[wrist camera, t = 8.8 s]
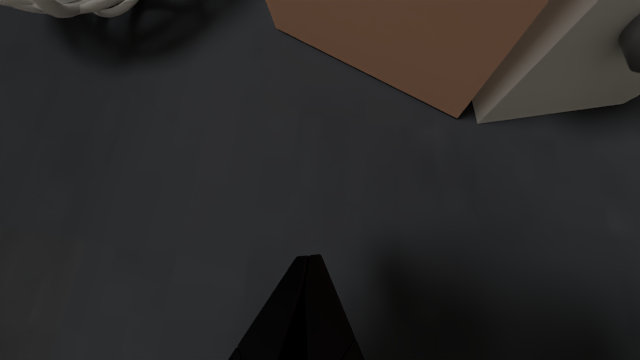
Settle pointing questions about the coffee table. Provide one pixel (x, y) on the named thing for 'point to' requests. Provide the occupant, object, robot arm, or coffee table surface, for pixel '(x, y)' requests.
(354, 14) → the side door
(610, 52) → the beige rectangular box
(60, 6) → the decorative ball
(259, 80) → the coffee table surface
